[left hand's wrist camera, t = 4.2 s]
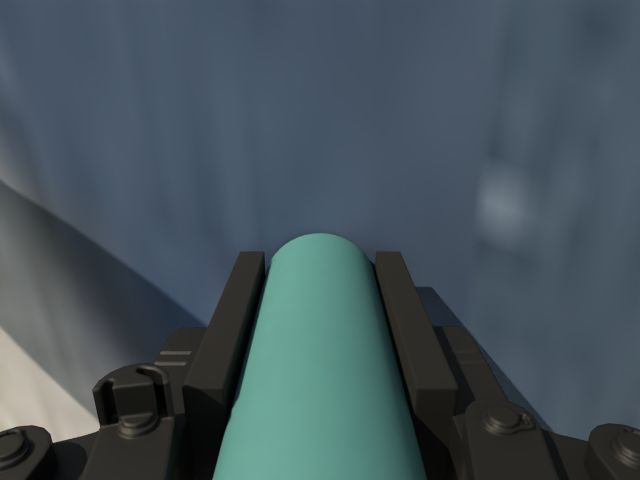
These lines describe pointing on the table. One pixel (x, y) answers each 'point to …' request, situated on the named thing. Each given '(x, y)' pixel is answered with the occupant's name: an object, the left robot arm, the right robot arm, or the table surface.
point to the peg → (320, 376)
